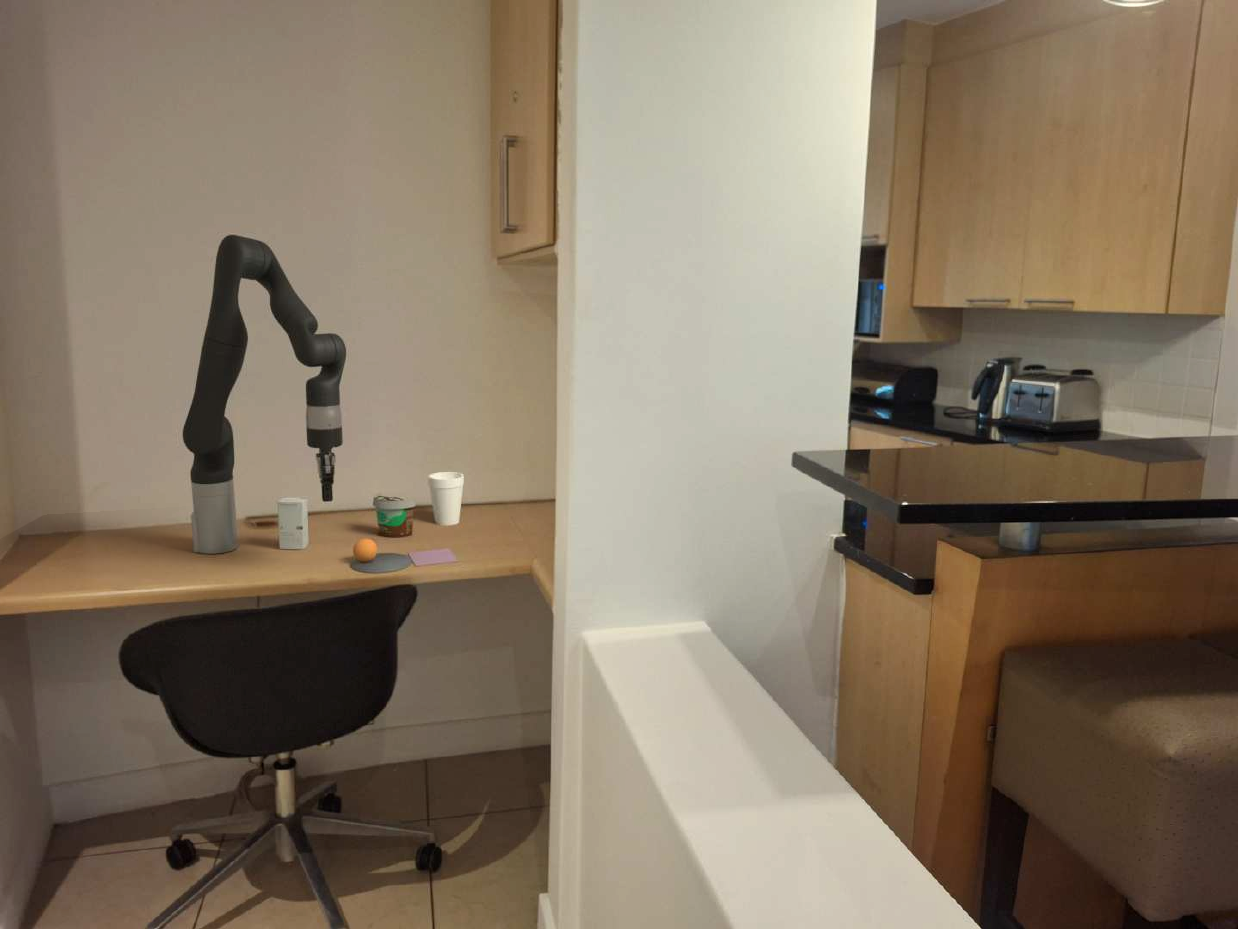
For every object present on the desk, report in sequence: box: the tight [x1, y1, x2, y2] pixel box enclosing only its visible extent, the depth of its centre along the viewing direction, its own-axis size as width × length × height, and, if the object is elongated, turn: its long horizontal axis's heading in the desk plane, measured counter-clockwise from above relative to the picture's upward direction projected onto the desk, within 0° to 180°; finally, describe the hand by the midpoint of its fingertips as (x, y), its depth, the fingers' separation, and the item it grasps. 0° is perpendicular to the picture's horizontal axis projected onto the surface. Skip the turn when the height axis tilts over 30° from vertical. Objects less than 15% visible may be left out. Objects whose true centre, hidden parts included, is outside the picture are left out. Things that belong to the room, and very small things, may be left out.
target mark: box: [349, 552, 413, 574], centre depth 208 cm, size 14×14×1 cm
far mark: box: [407, 548, 459, 567], centre depth 212 cm, size 10×10×1 cm
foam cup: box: [427, 471, 465, 526], centre depth 240 cm, size 10×9×13 cm
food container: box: [372, 492, 416, 539], centre depth 228 cm, size 12×6×10 cm, turn 62°
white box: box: [277, 496, 309, 550], centre depth 217 cm, size 6×4×12 cm
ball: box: [352, 538, 378, 562], centre depth 208 cm, size 6×6×6 cm
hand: (327, 500), depth 200 cm, fingers closed
